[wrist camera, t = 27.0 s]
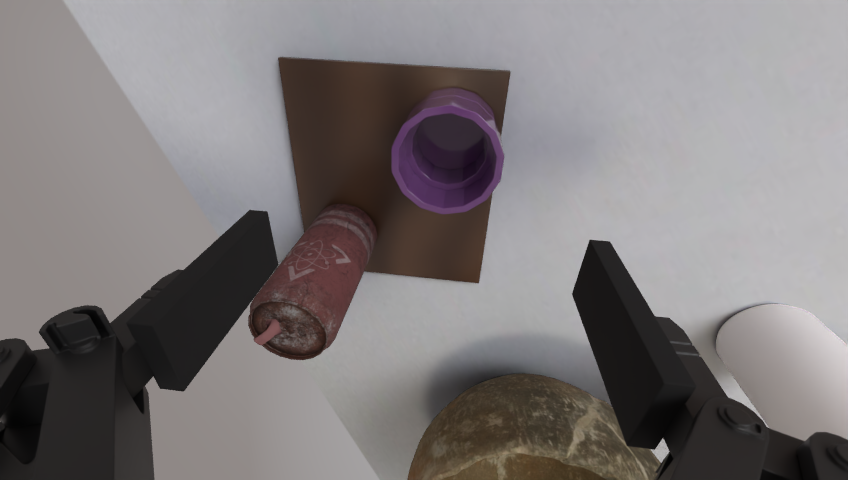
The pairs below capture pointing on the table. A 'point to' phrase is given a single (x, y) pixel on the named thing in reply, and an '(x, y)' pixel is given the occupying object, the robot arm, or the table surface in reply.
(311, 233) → the can
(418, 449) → the bowl
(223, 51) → the table surface
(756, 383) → the alcohol
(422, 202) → the purple faceted cup
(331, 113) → the placemat
